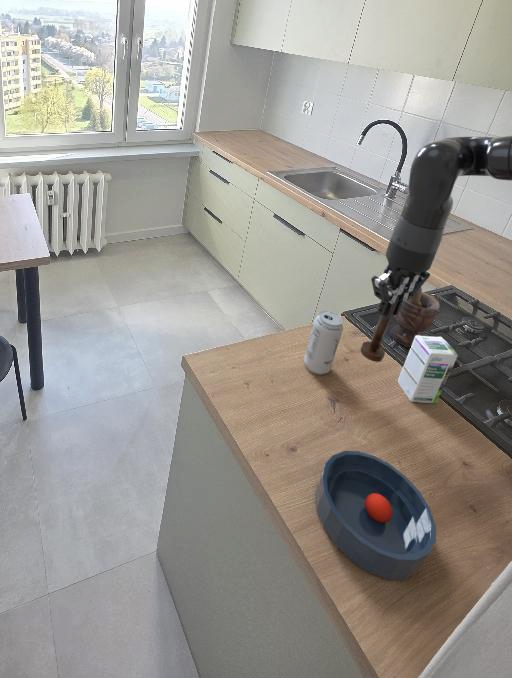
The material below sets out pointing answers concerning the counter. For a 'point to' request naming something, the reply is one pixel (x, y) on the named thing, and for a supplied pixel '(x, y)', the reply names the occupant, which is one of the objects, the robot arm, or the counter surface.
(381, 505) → the ball
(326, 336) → the energy drink can
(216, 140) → the counter surface
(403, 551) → the bowl
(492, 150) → the robot arm
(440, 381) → the syrup box
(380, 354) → the brown wooden pestle
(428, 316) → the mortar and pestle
